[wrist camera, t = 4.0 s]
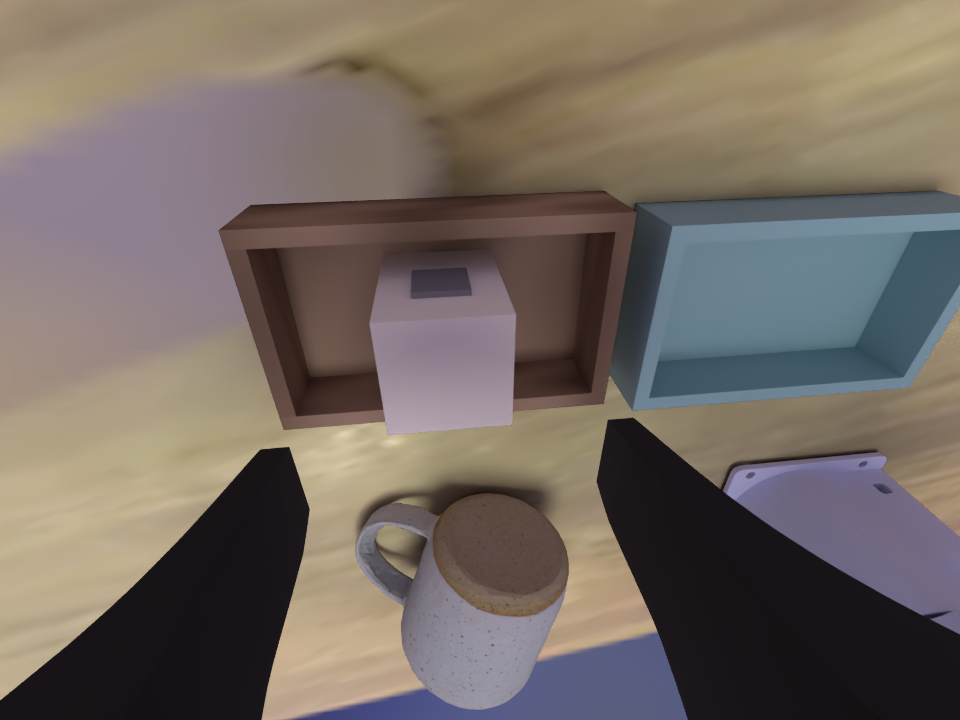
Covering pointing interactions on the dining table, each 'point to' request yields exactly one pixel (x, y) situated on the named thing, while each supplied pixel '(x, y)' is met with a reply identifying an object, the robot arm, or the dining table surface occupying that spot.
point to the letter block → (443, 341)
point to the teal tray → (784, 296)
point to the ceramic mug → (473, 593)
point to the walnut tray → (428, 228)
